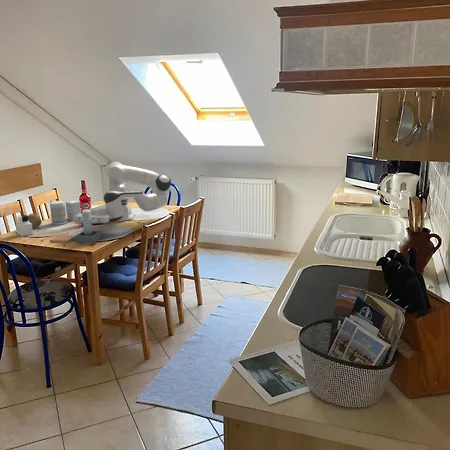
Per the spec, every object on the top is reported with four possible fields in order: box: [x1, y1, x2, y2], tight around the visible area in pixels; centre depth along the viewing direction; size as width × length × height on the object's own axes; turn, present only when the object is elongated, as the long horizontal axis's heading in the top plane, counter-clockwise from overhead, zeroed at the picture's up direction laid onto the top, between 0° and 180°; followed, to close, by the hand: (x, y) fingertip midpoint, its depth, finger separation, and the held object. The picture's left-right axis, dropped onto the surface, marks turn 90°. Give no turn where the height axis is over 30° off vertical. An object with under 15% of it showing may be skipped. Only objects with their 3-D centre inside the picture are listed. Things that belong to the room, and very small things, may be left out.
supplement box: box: [65, 200, 81, 222], centre depth 304 cm, size 7×7×13 cm
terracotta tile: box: [49, 234, 77, 243], centre depth 260 cm, size 11×11×1 cm
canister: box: [81, 209, 94, 236], centre depth 255 cm, size 5×5×16 cm
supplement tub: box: [49, 200, 68, 226], centre depth 293 cm, size 10×10×15 cm
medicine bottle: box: [15, 214, 34, 237], centre depth 269 cm, size 7×7×12 cm
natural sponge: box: [27, 213, 42, 230], centre depth 282 cm, size 9×9×10 cm
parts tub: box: [75, 230, 102, 245], centre depth 257 cm, size 11×11×4 cm
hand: (86, 221), depth 253 cm, fingers closed on canister, 5 cm apart
